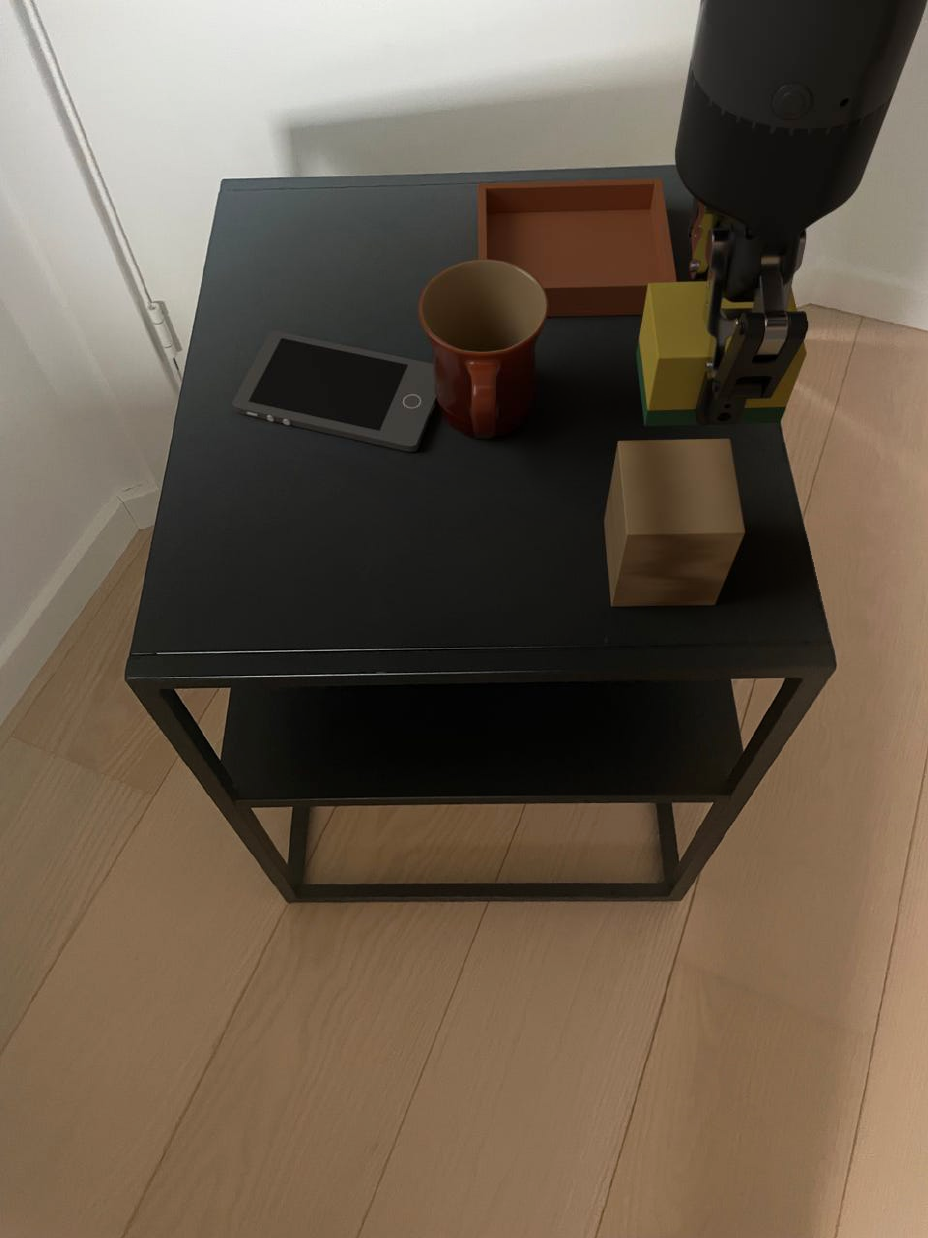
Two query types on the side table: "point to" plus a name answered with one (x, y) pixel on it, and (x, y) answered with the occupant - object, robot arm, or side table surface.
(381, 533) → the side table surface
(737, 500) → the tall wooden block
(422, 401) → the smartphone
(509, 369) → the mug
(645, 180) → the tray
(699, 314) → the sponge
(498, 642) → the side table surface
